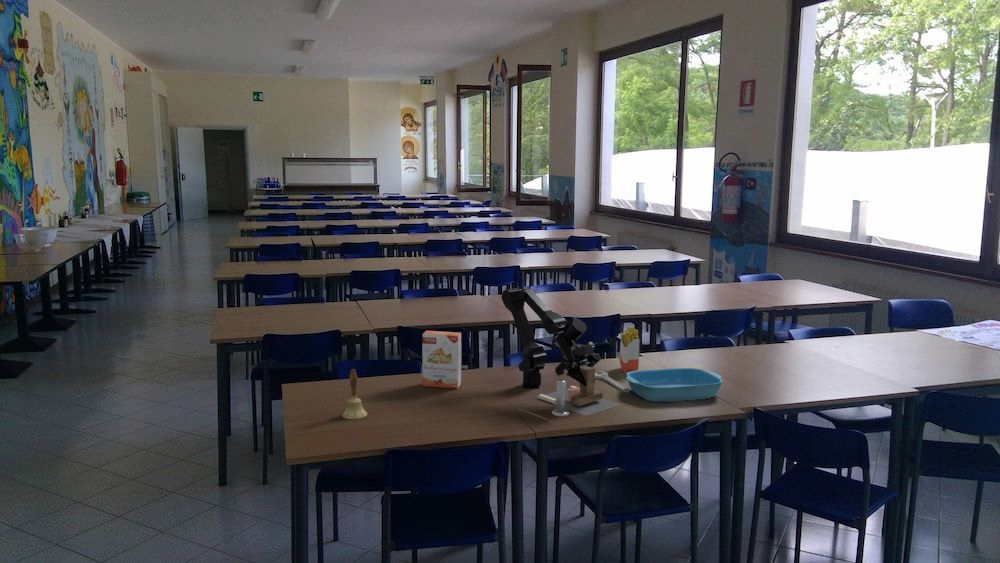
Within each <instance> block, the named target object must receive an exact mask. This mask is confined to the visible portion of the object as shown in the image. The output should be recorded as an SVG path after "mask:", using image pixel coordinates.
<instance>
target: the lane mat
mask: <svg viewBox="0 0 1000 563" xmlns="http://www.w3.org/2000/svg"><path fill="white" fill-rule="evenodd" d="M576 387H577V386H575V385H569V387H568V388H567V387H566V410H568V411H571V412H574V413H577V414H579V415H583V416H585V417H586V416H589V415H592V414H596V413H597V414H598V413H599V412H603V411H607V410H609V409H613V408H615V407H618V406H621V405H622V404H621V403H618V402H615V401H612V400H608V399H606V398H603V397H602V399H601V400H597V401H594V402H591V403H588V404H584V405H581V406H577V405H575V404H572V403H571V401H568V400H567V399H568V389H572V388H576ZM535 398H537V399H539V400H541V401H543V402H544V401H545V402H547V403H549V404H553V405H555V406H556V391H553V392H550V393H546V394H543V393H541V394H539V395H538V396H535Z"/></svg>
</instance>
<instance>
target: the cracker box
mask: <svg viewBox="0 0 1000 563" xmlns="http://www.w3.org/2000/svg"><path fill="white" fill-rule="evenodd" d="M421 342H422V343H421V344H422V346H421V348H422V349H421V350H422V362H421V363H422V364H421V365H422V366H421V367H422V387H425V388H427V387H429V388H442V389H453V388H454V389H456V390H458V389H459V388H460V386H461V385H462V332H453V331H440V330H439V331H437V330H425V331H424V332H423V333H422V341H421Z"/></svg>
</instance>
